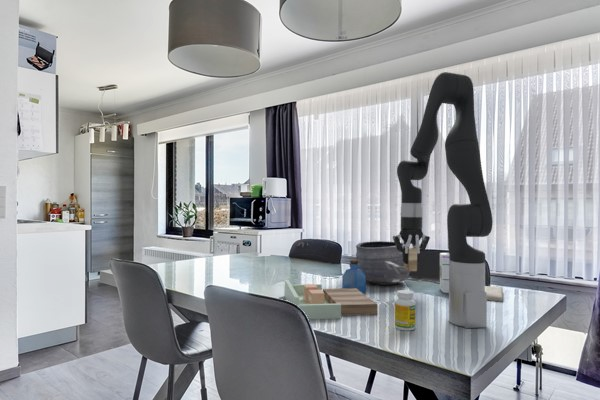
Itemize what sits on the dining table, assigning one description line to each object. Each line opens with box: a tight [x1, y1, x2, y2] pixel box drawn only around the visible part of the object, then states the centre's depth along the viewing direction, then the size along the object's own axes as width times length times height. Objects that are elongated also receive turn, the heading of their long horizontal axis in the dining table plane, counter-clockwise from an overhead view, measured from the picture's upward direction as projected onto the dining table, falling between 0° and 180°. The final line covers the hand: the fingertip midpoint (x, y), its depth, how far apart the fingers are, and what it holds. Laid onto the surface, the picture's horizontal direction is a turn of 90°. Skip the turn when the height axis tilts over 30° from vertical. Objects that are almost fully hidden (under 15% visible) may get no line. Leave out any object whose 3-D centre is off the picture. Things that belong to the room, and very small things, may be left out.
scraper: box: [384, 246, 418, 275], centre depth 139 cm, size 16×8×8 cm, turn 8°
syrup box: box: [439, 252, 449, 294], centre depth 148 cm, size 6×6×14 cm
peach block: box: [309, 289, 324, 304], centre depth 120 cm, size 5×5×4 cm
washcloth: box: [485, 285, 504, 302], centre depth 143 cm, size 12×18×3 cm, turn 154°
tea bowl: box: [355, 240, 411, 286], centre depth 163 cm, size 25×22×17 cm
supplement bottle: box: [394, 289, 417, 331], centre depth 103 cm, size 5×5×10 cm
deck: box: [322, 287, 378, 316], centre depth 126 cm, size 22×12×3 cm, turn 8°
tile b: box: [303, 283, 318, 303], centre depth 128 cm, size 5×5×4 cm
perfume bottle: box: [341, 259, 367, 295], centre depth 143 cm, size 6×6×12 cm
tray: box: [283, 279, 342, 320], centre depth 124 cm, size 28×13×6 cm, turn 8°
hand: (410, 263), depth 139 cm, fingers closed on scraper, 3 cm apart
